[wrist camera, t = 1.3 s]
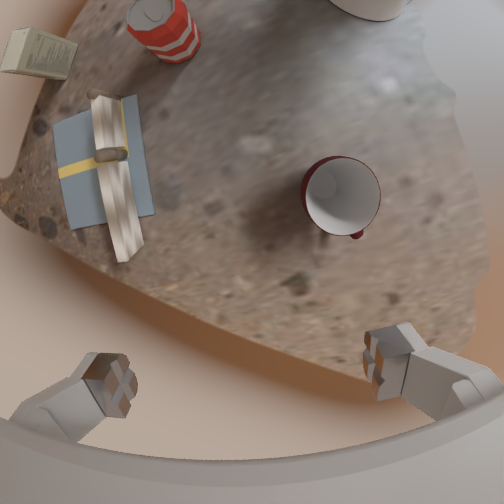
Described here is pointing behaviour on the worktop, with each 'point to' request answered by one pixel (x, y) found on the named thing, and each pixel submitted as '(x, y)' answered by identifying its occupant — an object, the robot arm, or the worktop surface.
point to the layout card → (85, 168)
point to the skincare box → (38, 54)
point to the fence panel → (120, 209)
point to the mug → (341, 195)
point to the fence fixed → (107, 125)
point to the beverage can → (164, 28)
